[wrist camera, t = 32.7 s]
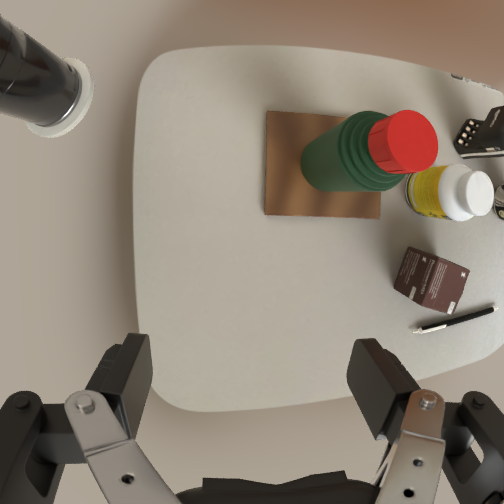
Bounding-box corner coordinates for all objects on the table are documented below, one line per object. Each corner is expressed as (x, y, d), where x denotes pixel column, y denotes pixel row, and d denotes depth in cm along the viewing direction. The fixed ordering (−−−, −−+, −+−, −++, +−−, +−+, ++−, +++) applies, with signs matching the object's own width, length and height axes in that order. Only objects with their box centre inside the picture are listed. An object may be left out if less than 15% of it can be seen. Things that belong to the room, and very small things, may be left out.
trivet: (264, 214, 36) (265, 215, 36) (266, 112, 34) (267, 110, 33) (376, 218, 37) (379, 219, 36) (377, 124, 35) (380, 122, 34)
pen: (411, 328, 40) (415, 331, 39) (497, 304, 41) (501, 306, 40) (410, 334, 40) (414, 337, 39) (496, 309, 41) (500, 311, 40)
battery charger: (465, 111, 35) (517, 98, 24) (479, 130, 36) (532, 121, 25) (446, 141, 36) (502, 132, 25) (461, 161, 36) (517, 157, 25)
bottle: (310, 198, 36) (382, 204, 18) (292, 145, 34) (348, 102, 17) (359, 182, 35) (456, 178, 18) (342, 131, 34) (428, 88, 16)
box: (407, 245, 38) (439, 255, 31) (439, 258, 39) (471, 269, 32) (392, 288, 39) (420, 306, 32) (424, 298, 40) (453, 316, 32)
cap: (414, 123, 19) (437, 116, 16) (415, 176, 20) (438, 175, 17) (367, 114, 19) (385, 104, 16) (367, 170, 20) (387, 168, 17)
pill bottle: (400, 212, 37) (456, 220, 26) (405, 162, 36) (461, 155, 25) (438, 218, 38) (495, 228, 26) (442, 172, 37) (500, 169, 25)
